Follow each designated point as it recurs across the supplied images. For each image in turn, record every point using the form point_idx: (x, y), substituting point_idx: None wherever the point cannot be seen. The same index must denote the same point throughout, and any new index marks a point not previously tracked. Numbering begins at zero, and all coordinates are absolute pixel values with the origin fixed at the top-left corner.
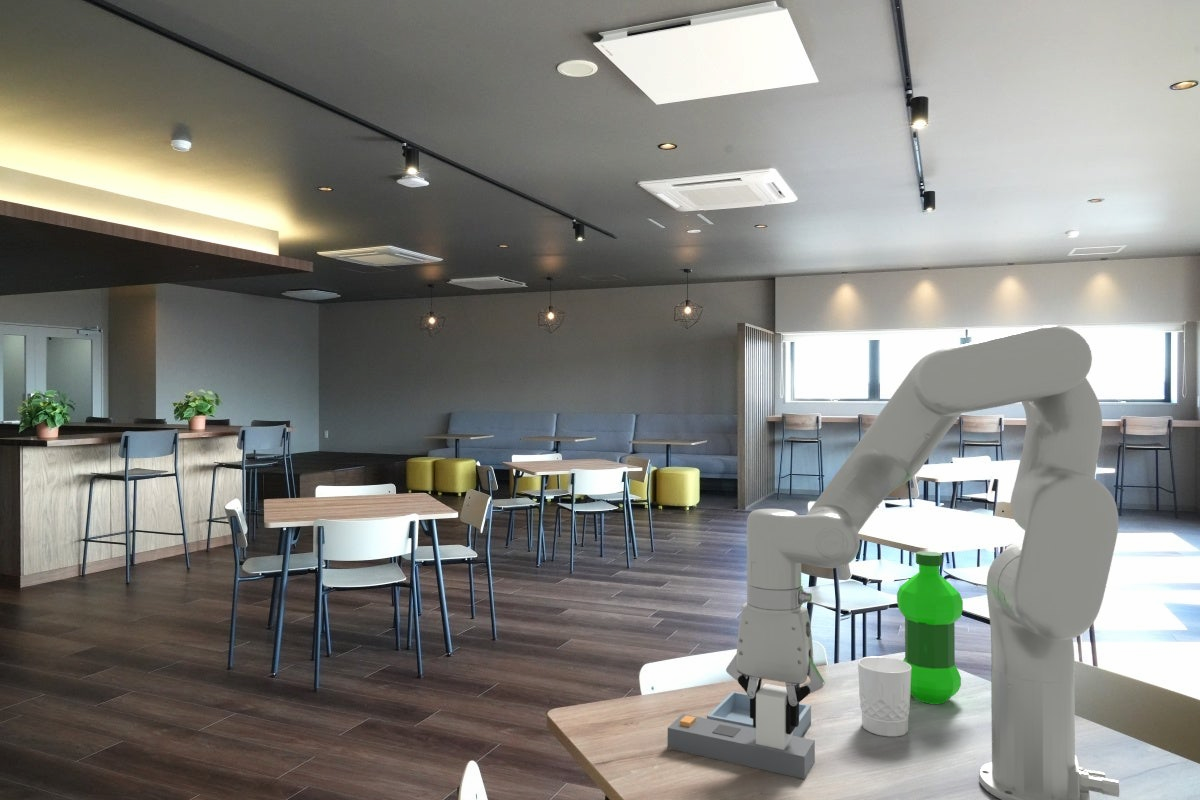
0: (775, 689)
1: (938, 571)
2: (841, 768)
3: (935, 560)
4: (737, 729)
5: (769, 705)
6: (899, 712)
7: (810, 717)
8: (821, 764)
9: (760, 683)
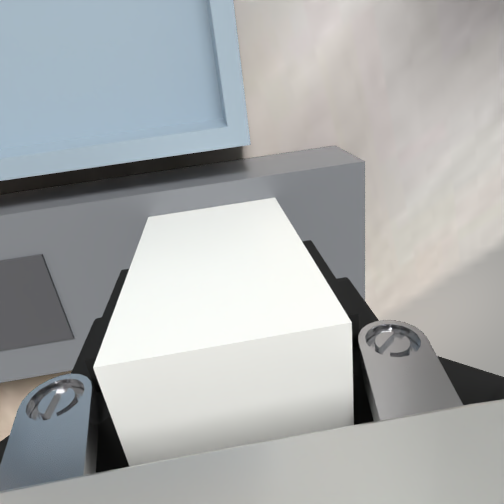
0: (236, 423)
1: None
2: (428, 139)
3: None
4: (37, 270)
5: None
6: None
7: None
8: (360, 151)
9: (93, 457)
